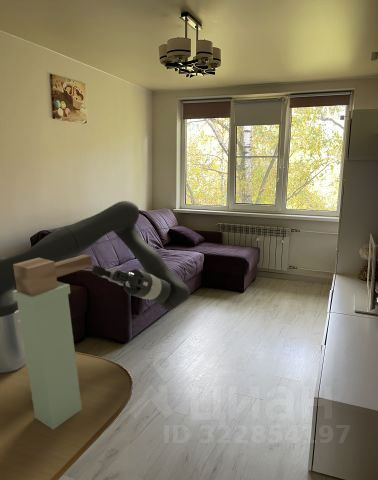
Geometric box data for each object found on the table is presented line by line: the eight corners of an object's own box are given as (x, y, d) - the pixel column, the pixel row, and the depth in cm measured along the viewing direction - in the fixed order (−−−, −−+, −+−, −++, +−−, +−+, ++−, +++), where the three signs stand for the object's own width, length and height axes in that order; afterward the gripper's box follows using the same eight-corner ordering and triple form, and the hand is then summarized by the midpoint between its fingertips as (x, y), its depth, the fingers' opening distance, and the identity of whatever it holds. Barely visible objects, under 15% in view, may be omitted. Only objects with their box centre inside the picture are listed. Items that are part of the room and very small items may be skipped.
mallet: (17, 290, 80) (13, 264, 78) (81, 269, 93) (79, 246, 91) (32, 296, 76) (28, 268, 75) (97, 273, 89) (95, 249, 88)
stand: (32, 418, 87) (12, 291, 80) (64, 397, 94) (49, 279, 87) (51, 431, 83) (32, 298, 75) (84, 408, 90) (69, 284, 82)
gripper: (129, 269, 113) (90, 254, 100) (165, 276, 105) (128, 261, 92) (122, 292, 112) (81, 280, 99) (158, 302, 104) (119, 290, 91)
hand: (104, 271), depth 96 cm, fingers open, 8 cm apart
